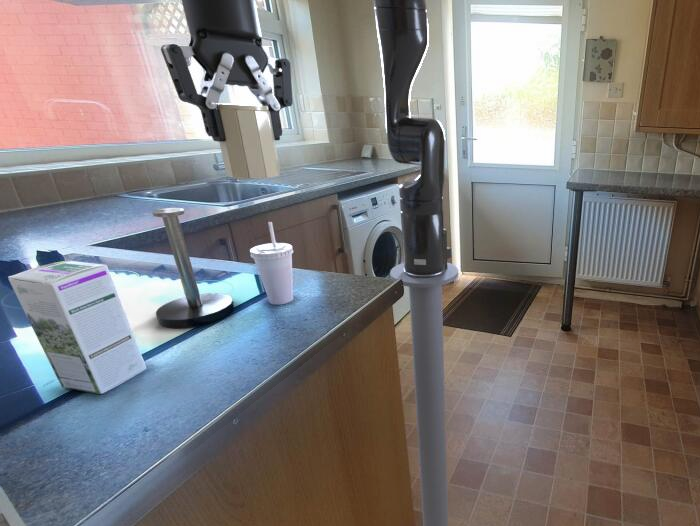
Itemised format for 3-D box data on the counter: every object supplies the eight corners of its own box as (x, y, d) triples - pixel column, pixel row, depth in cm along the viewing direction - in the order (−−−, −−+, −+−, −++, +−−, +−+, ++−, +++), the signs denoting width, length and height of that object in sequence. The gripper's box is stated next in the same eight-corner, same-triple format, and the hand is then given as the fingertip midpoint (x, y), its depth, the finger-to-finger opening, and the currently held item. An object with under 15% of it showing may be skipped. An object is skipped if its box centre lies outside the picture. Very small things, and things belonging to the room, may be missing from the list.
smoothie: (307, 300, 73) (295, 223, 67) (269, 311, 68) (252, 230, 63) (292, 290, 77) (278, 216, 71) (254, 299, 72) (237, 222, 67)
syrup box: (149, 368, 52) (110, 262, 47) (99, 397, 47) (49, 280, 41) (111, 362, 53) (68, 257, 48) (58, 390, 48) (3, 275, 42)
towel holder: (218, 296, 73) (193, 200, 66) (245, 311, 68) (221, 210, 61) (148, 315, 65) (112, 210, 59) (173, 335, 60) (137, 222, 53)
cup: (265, 171, 61) (253, 105, 57) (289, 176, 57) (278, 106, 54) (219, 174, 56) (202, 102, 52) (241, 180, 52) (226, 103, 49)
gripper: (154, -33, 41) (198, 144, 47) (294, 1, 52) (314, 141, 58) (128, -23, 45) (172, 140, 51) (264, 7, 56) (286, 137, 62)
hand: (248, 140), depth 55 cm, fingers closed on cup, 6 cm apart
